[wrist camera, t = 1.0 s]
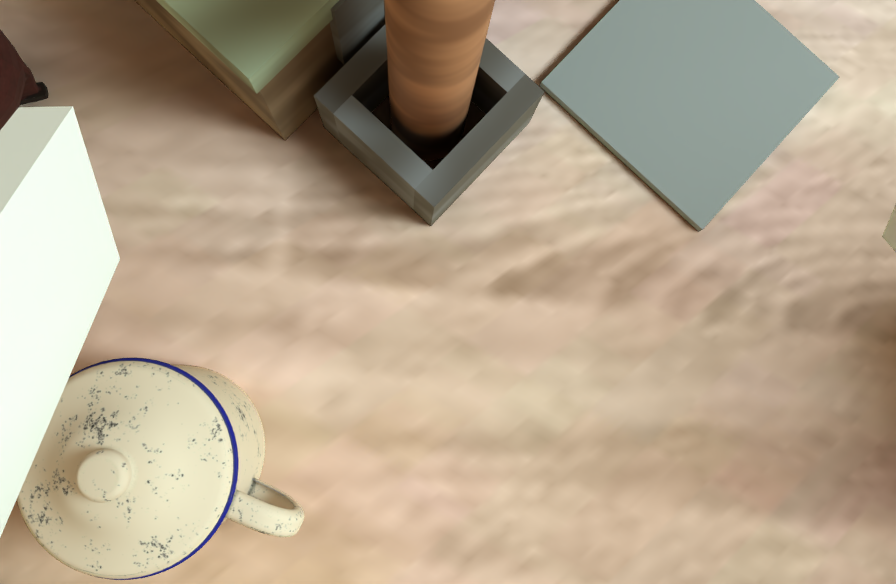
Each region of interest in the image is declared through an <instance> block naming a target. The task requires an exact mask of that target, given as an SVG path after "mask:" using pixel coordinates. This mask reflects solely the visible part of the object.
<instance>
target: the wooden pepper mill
mask: <svg viewBox="0 0 896 584" xmlns="http://www.w3.org/2000/svg"><path fill="white" fill-rule="evenodd" d="M494 2H495V0H384V4H385V23H386V42H387V61H388V80H389V99H390V119H391V131H392V133H393V134H395V135H396V136H397V137H398V138H399V139H400V140H401V141H402V142H403V143H404V144H405V145H406V146H408V147H409V148H410V149H411V150H412V151H413V152H414V153H415V154H416V155H417V156H418V157H419V158H420V159H422V160H426V161H430V160H436V159H440V158H442V157H444V156H446V155H448V154H449V153H450V152H451V151H452V150H453V149H454V148H455V146H456V145H457V144H458V143H459V141H460V139H461V137H462V133H463V129H464V125H465V121H466V117H467V113H468V109H469V105H470V101H471V96H472V92H473V88H474V84H475V80H476V76H477V72H478V68H479V64H480V60H481V56H482V51H483V47H484V43H485V39H486V35H487V31H488V27H489V23H490V19H491V15H492V10H493V6H494Z"/></svg>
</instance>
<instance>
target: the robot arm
mask: <svg viewBox="0 0 896 584" xmlns="http://www.w3.org/2000/svg"><path fill="white" fill-rule="evenodd" d="M882 237H883V238H884V239H885V240H886V241H887V242H888V244H889V245H890V246H891V247H892V248H893V250H894V251H895V252H896V205H895V207H894V210H893V212H892V214H891V217H890V219H889V221H888V224H887V226H886V229H885V231H884V233H883V236H882ZM119 260H120V257H119V254H118V251H117V248H116V244H115V241H114V238H113V235H112V231H111V228H110V225H109V222H108V219H107V215H106V212H105V209H104V206H103V202H102V199H101V196H100V193H99V189H98V186H97V183H96V180H95V177H94V173H93V170H92V167H91V164H90V160H89V157H88V154H87V151H86V147H85V144H84V141H83V138H82V135H81V131H80V128H79V125H78V122H77V118H76V115H75V112H74V109H73V106H60V107H18V109H17V110H16V111H15V113H14V114H13V115H12V116H11V118H10V119H9V120H8V121H7V123H6V124H5V125H4V126H3V128H2V129H1V130H0V537H1V534H2V532H3V530H4V527H5V525H6V523H7V520H8V518H9V516H10V513H11V511H12V509H13V507H14V504H15V502H16V500H17V497H18V495H19V493H20V490H21V488H22V486H23V483H24V481H25V479H26V476H27V474H28V472H29V469H30V467H31V465H32V462H33V460H34V458H35V455H36V453H37V451H38V448H39V446H40V444H41V441H42V439H43V437H44V434H45V432H46V430H47V427H48V425H49V423H50V420H51V418H52V416H53V413H54V411H55V409H56V407H57V404H58V402H59V400H60V397H61V395H62V393H63V390H64V388H65V386H66V383H67V381H68V379H69V376H70V374H71V372H72V369H73V367H74V365H75V362H76V360H77V358H78V355H79V353H80V351H81V348H82V346H83V344H84V341H85V339H86V337H87V334H88V332H89V330H90V327H91V325H92V323H93V320H94V318H95V316H96V313H97V311H98V309H99V306H100V304H101V302H102V300H103V297H104V295H105V293H106V290H107V288H108V286H109V283H110V281H111V279H112V276H113V274H114V272H115V269H116V267H117V265H118V262H119Z"/></svg>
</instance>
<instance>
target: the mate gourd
mask: <svg viewBox="0 0 896 584" xmlns="http://www.w3.org/2000/svg"><path fill="white" fill-rule="evenodd" d="M46 98H48V90H47V87H46V86H45V84H44V83H43V82H39V83H36V82H35V80H34V77H33V74H32V72H31V70H30V69H29V68H28V67H27V66H26V64H25V63H24V62H23V61H22V60H21V58H20V56H19V55H18V53H17V51H16V50H15V48H14V47H13V45H12V44H11V43H10V41H9V40H8V39H7V37H6V36H5V35H4V34H3V32H2V31H1V30H0V130H1V129H2V128H3V126H4V125H5V124H6V123H7V121H8V120H9V119H10V118H11V116H12V115H13V114H14V113H15V111H16V110H17V109H18V107H19V106H20V105H21V104H26V103H30V102H35V101H39V100H43V99H46Z"/></svg>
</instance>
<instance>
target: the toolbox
mask: <svg viewBox="0 0 896 584" xmlns="http://www.w3.org/2000/svg"><path fill="white" fill-rule="evenodd" d="M135 1H136V2H137V3H138V4H139V5H140V6H141V7H142V8H143V9H144V10H145V11H146V12H147V13H149V14H150V15H151V16H152V17H153V18H154V19H155V20H156V21H157V22H158V23H159V24H160V25H161V26H163V27H164V28H165V29H166V30H167V31H168V32H169V33H170V34H171V35H172V36H173V37H174V38H175V39H177V40H178V41H179V42H180V43H181V44H182V45H183V46H184V47H185V48H186V49H187V50H188V51H189V52H190V53H192V54H193V55H194V56H195V57H196V58H197V59H198V60H199V61H200V62H201V63H202V64H203V65H204V66H206V67H207V68H208V69H209V70H210V71H211V72H212V73H213V74H214V75H215V76H216V77H217V78H218V79H220V80H221V81H222V82H223V83H224V84H225V85H226V86H227V87H228V88H229V89H230V90H231V91H232V92H233V93H235V94H236V95H237V96H238V97H239V98H240V99H241V100H242V101H243V102H244V103H245V104H246V105H247V106H249V107H250V108H251V109H252V110H253V111H254V112H255V113H256V114H257V115H258V116H259V117H260V118H261V119H263V120H264V121H265V122H266V123H267V124H268V125H269V126H270V127H271V128H272V129H273V130H274V131H275V132H277V133H278V134H279V135H280V136H281V137H282V138H283V139H284V140H286V139H287V138H288V137H289V136H290V135H291V134H292V133H293V132H294V131H295V130H296V129H297V128H298V127H299V126H300V125H301V124H302V123H303V122H304V121H305V120H306V119H307V118H308V117H309V116H310V115H311V114H312V113H313V112H314V111H315V110H316V109H317V108H318V110H319V113H320V116H321V119H322V123H323V126H324V128H325V129H327V130H328V131H329V132H330V133H331V134H332V135H333V136H334V137H335V138H336V139H337V140H338V141H340V142H341V143H342V144H343V145H344V146H345V147H346V148H347V149H348V150H349V151H350V152H351V153H352V154H354V155H355V156H356V157H357V158H358V159H359V160H360V161H361V162H362V163H363V164H364V165H365V166H366V167H368V168H369V169H370V170H371V171H372V172H373V173H374V174H375V175H376V176H377V177H378V178H379V179H380V180H382V181H383V182H384V183H385V184H386V185H387V186H388V187H389V188H390V189H391V190H392V191H393V192H394V193H396V194H397V195H398V196H399V197H400V198H401V199H402V200H403V201H404V202H405V203H406V204H407V205H408V206H410V207H411V208H412V209H413V210H414V211H415V212H416V213H417V214H418V215H419V216H420V217H421V218H423V219H424V220H425V221H426V222H427V223H428V224H429V225H430V226H431V225H432V224H433V223H434V222H435V221H436V220H437V219H438V218H439V217H440V216H441V215H442V214H443V213H444V212H445V211H446V210H447V209H448V208H449V207H450V205H451V204H452V203H453V202H454V201H455V200H456V199H457V198H458V197H459V196H460V195H461V194H462V193H463V192H464V191H465V190H466V189H467V188H468V187H469V186H470V184H471V183H472V182H473V181H474V180H475V179H476V178H477V177H478V176H479V175H480V174H481V173H482V172H483V171H484V170H485V169H486V168H487V167H488V166H489V164H490V163H491V162H492V161H493V160H494V159H495V158H496V157H497V156H498V155H499V154H500V153H501V152H502V151H503V150H504V149H505V148H506V147H507V146H508V145H509V143H510V142H511V141H512V140H513V139H514V138H515V137H516V136H517V135H518V134H519V133H520V132H521V131H522V130H523V129H524V128H525V127H526V126H527V125H528V123H529V122H530V120H531V118H532V116H533V114H534V112H535V110H536V108H537V106H538V104H539V102H540V100H541V98H542V96H543V94H544V91H543V90H542V89H541V88H540V87H539V86H538V85H537V84H536V83H535V82H533V81H532V80H531V79H530V78H529V77H528V76H527V75H526V74H525V73H524V72H523V71H521V70H520V69H519V68H518V67H517V66H516V65H515V64H514V63H513V62H512V61H510V60H509V59H508V58H507V57H506V56H505V55H504V54H503V53H502V52H501V51H500V50H498V49H497V48H496V47H495V46H494V45H493V44H492V43H491V42H490V41H489V40H488V39H485V43H484V47H483V51H482V56H481V60H480V64H479V68H478V72H477V76H476V80H475V84H474V88H473V92H472V96H471V101H472V102H473V103H474V104H475V105H476V106H477V107H478V108H479V109H480V110H482V111H483V112H484V113H485V114H486V115H485V116H484V117H483V118H482V119H481V120H480V122H479V123H478V124H477V125H476V126H475V127H474V128H473V129H472V130H471V131H470V132H469V133H468V134H467V135H466V136H465V137H464V138H463V139H462V140H461V141H460V142H459V143H458V144H457V145H456V146H455V148H454V149H453V150H452V151H451V152H450V153H449V154H448V155H447V156H446V157H445V158H444V159H443V160H442V161H441V162H440V163H439V164H438V165H437V166H436V167H435V168H434V169H433V170H432V169H431V168H430V167H429V166H428V165H427V164H426V163H425V162H424V161H423V160H422V159H420V158H419V157H418V156H417V155H416V154H415V153H414V152H413V151H412V150H411V149H410V148H409V147H408V146H406V145H405V144H404V143H403V142H402V141H401V140H400V139H399V138H398V137H397V136H396V135H395V134H393V133H392V132H391V131H390V130H389V129H388V128H387V127H386V126H385V125H384V124H383V123H382V122H380V121H379V120H378V119H377V118H376V117H375V116H374V115H373V114H372V113H371V112H372V111H373V110H374V109H375V108H376V107H377V106H378V105H379V104H380V103H381V102H382V101H383V100H384V99H385V98H386V97H387V96H388V95H389V80H388V61H387V42H386V23H385V4H384V0H135Z"/></svg>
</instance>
